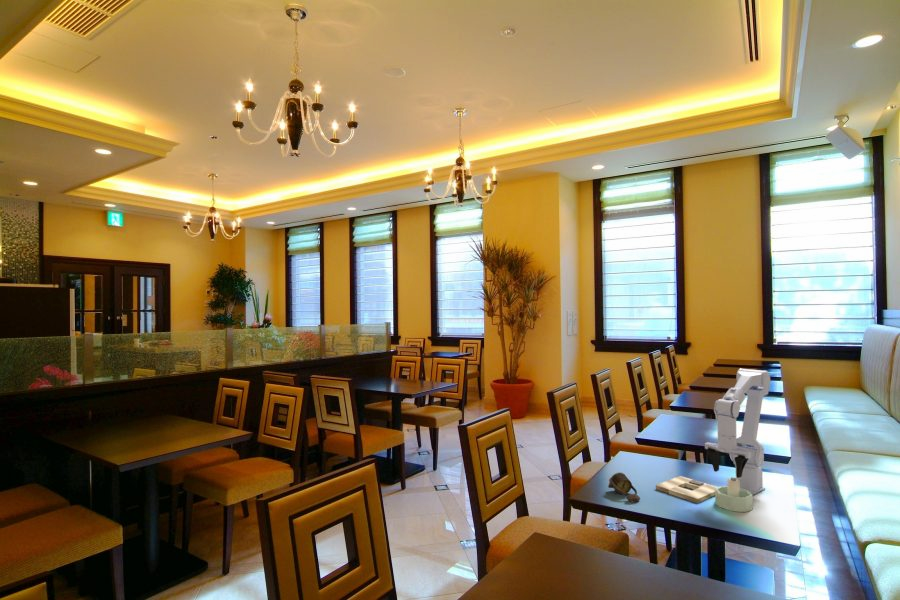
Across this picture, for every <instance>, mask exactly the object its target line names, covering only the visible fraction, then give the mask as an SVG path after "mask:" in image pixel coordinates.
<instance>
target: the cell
mask: <svg viewBox="0 0 900 600" xmlns="http://www.w3.org/2000/svg"><path fill="white" fill-rule="evenodd" d="M726 486H727V495H728V496H732V497H740V481H739V480H737V479H736V477H729V478H728V477H727V484H726Z"/></svg>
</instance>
